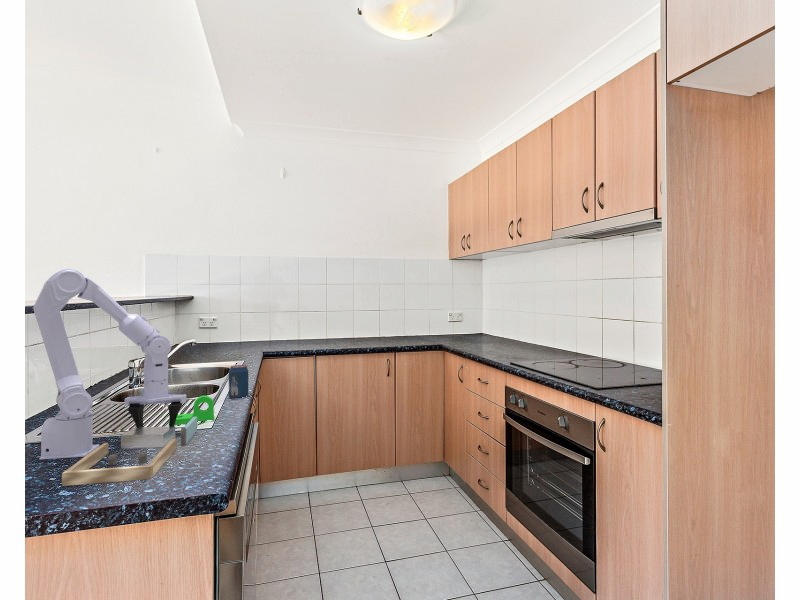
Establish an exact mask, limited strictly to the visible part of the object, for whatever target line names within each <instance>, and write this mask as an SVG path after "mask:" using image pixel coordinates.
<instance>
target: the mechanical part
mask: <svg viewBox="0 0 800 600" xmlns="http://www.w3.org/2000/svg"><path fill="white" fill-rule="evenodd" d="M202 403H206V404H207V405H208V407H207V408H206V409H201V408H200V404H202ZM192 408H193V409H192V410H193V411H192V413H181V414H178V415H177V418H176V422H175V426H181V425H180V424H183V425H186V423H188V422H189V421H190V420H191V419H192V418H193V417H197V422H198V421H207V420H214V419H215V403H214V399H213V398H212V397H210V395H209V396H208V395H200V396H199V397H197V398H196V399H195V400H194V402H193V407H192ZM169 420H170V419H168V421H169Z"/></svg>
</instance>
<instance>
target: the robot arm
mask: <svg viewBox="0 0 800 600" xmlns="http://www.w3.org/2000/svg"><path fill="white" fill-rule="evenodd" d="M76 296H77V298H78V299H83V300H86V301H89V302H92V303H93V304H95V305H96V306H97V307H98V308H100V309H101V310H102V311H103V312H105V313H106V314H107V315H109V316H110V318H112V319H114V320H115V321H116V322H117V323H118V331H119V332H120V333H122V334H123V335H125V336H126V338H128V339H129V340H130V341H132V342H133V343H134V344H135V345H136V346H137V347H140V350H141V351H142V352H143V353H144V362H143V363H144V364H143V395H137V396H127V397H126V398H124V406H125V407H127V406H128V408H127V411H128V413H129V415H130V416H131V417H132V420H133V421H134V425H135V428H136V427H144V410H145V405H157V404H169V405H168V406H167V407H168V414H169V415H168V416H169V419H170V420H169V419H168V427H176V425H175V422H176V418H177V415H179V412H180V410H181V408H182V406H183V405H184V404H185V403H186V402H187V394H185V393H184V394H174V393H172V394H171V393H169V357H168V356H169V354H170V352H171V350H172V345H171V344H170V341H169V339H168V338H167V337H165V336H163V335H161V334H160V333H161V331H160V330H159V329H158V328H156V329H155V328H154V327H153V326H152V325H150V323H148V321H146V320H147V318H146V317H145V315H139V314H138V313H128V312H127V310H126V309H125V308H123V307H122V306H121V305H120V304H119V303H118V302H117V301H116V300H115V299H114V298H113V297H112V296H110V295H109V294H108V293H107V292H106V291H105V290H104V289H103V288H102V287H101V286H99V285H98V284H97V283H96V282H95V281H93V280H92V279H90V278H88V277H85V276H84V274H83V273H82V272H81V271H79V270H77V269H74V268H63V269H61V270H59V271H57V272H55V273H54V274H52V275H51V276H50V277H49V278H48V279H47V280H46V281H45V282H44V284H43V286H42V288H41V290H40V292H39V295H37V299H36V300H35V303H34V304H33V312H34V316H35V319H36V323H37V325H38V328H39V331H40V336H41V337H42V342H43V344H44V348H45V350H46V351H45V352H46V354H47V357H48V361H49V363H50V367H51V370H52V373H53V377H54V379H55V384H56V389H57V396H56V404H57V406H58V407H59V411H58V413H56V414H55V416H54V417H48V418H46V420H45V421H44V422H43V424H42V426H41V432H40V433H41V434H40V435H41V436H40V438H41V439H40V443H41V445H40V446H41V447H40V448H41V449H40V451H41V452H40V454H41V455H40V457H39V460H52V459H53V460H54V459H68V458H81V457H82V458H84V457H85V456H87V455H88V454H90V453H91V452H92V451H94V450H95V449H96V448H98V447H99V446H101V444H99V443H98V444H93V441H94V440H93V436H94V435H93V432H94V431H93V428H94V427H93V422H94V421H93V411H92V410H91V409H92V408H93V404H94V400H93V397H92V396H91V394H90V393H89V392H88V391H87V390H86V389H85V388H84V384H83V382H82V380H81V377H80V374H79V371H78V368H77V364H76V361H75V360H76V359H75V357H74V354H73V352H72V348H71V345H70V341H69V338H68V335H67V331H66V328H65V325H64V324H65V323H64V321H63V318H62V314H61V310H62V309H64V307H65V306H66V305H67V304H68V303H69V301H70V300H71V299H73V298H74V297H76Z"/></svg>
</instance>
